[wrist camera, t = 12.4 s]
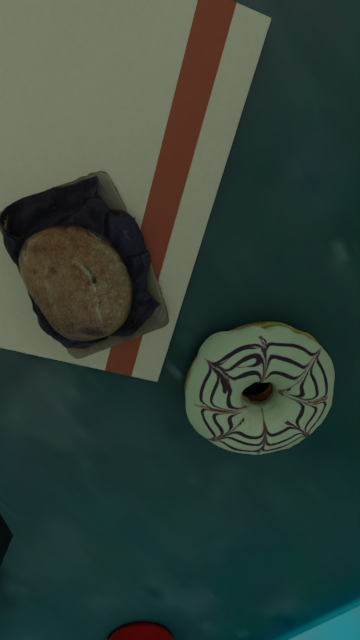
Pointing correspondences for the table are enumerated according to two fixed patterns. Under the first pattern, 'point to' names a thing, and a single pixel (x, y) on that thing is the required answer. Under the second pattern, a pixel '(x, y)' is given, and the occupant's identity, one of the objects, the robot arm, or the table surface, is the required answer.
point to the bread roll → (84, 265)
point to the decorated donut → (272, 404)
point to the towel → (122, 133)
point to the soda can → (141, 632)
